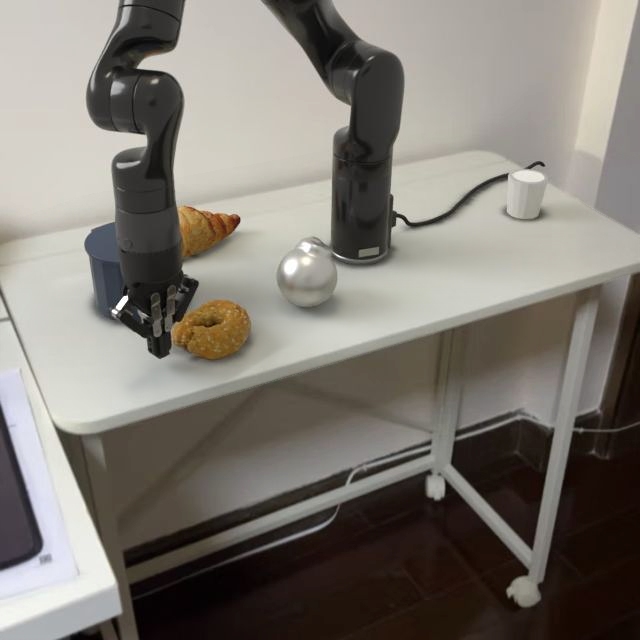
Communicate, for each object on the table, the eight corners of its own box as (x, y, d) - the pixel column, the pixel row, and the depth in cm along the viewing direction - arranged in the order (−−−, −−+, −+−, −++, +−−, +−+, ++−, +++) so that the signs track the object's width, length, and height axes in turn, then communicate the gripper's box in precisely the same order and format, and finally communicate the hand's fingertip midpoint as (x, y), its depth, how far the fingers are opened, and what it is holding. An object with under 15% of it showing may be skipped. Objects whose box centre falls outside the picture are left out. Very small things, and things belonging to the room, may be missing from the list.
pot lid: (143, 216, 131) (140, 185, 129) (202, 246, 124) (200, 213, 121) (66, 246, 123) (60, 213, 120) (123, 280, 115) (119, 245, 113)
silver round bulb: (352, 304, 128) (354, 243, 123) (301, 325, 123) (301, 263, 117) (314, 279, 134) (314, 221, 128) (264, 299, 129) (262, 238, 123)
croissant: (130, 288, 137) (134, 259, 131) (105, 239, 141) (108, 208, 135) (248, 252, 147) (257, 224, 140) (222, 208, 151) (229, 178, 144)
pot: (138, 264, 137) (132, 209, 132) (213, 306, 127) (209, 248, 122) (69, 293, 129) (59, 236, 124) (142, 340, 119) (135, 280, 114)
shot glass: (547, 210, 156) (554, 173, 152) (534, 224, 151) (540, 186, 147) (511, 201, 159) (517, 165, 155) (497, 214, 154) (502, 177, 150)
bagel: (178, 320, 123) (175, 292, 121) (255, 323, 123) (254, 294, 121) (165, 361, 115) (162, 331, 112) (248, 363, 115) (247, 333, 112)
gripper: (172, 209, 110) (181, 324, 120) (83, 243, 102) (100, 363, 111) (211, 228, 106) (217, 346, 115) (121, 265, 98) (136, 388, 107)
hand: (160, 354), depth 113 cm, fingers closed
